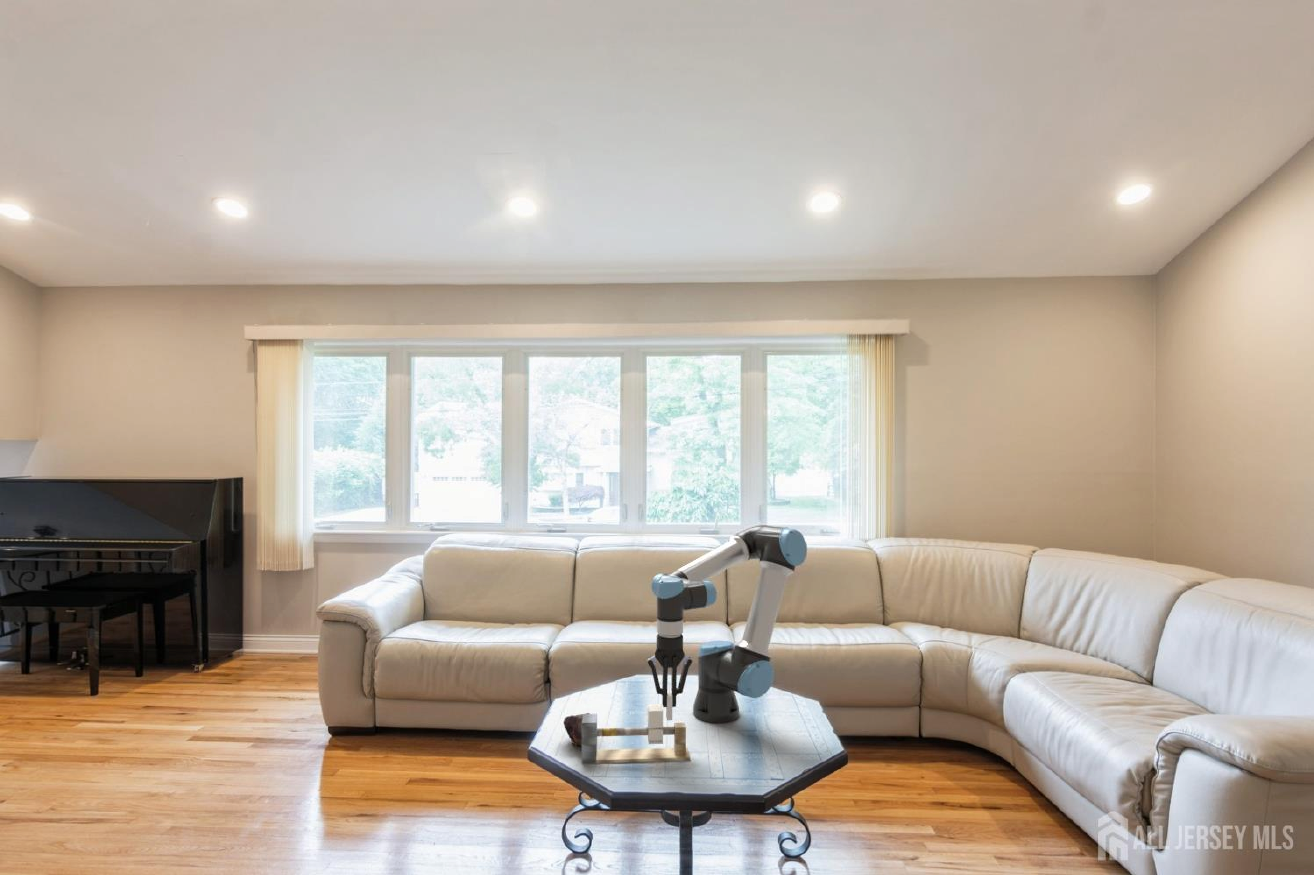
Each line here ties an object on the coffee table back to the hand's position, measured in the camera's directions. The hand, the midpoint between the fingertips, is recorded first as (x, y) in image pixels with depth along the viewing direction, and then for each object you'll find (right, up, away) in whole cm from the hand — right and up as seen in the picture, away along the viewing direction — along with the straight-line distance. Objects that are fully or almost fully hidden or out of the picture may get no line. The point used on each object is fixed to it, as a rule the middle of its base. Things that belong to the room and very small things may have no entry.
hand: (669, 718), depth 176 cm
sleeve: (-4, -6, 0) cm, 7 cm away
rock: (-26, -11, +8) cm, 29 cm away
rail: (-9, -11, -1) cm, 14 cm away
